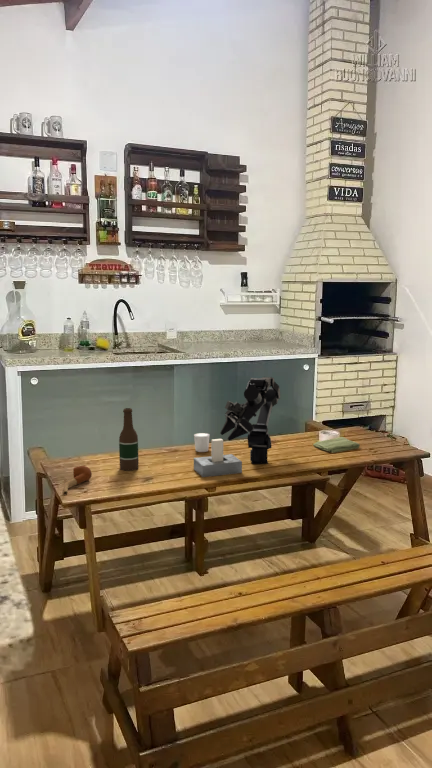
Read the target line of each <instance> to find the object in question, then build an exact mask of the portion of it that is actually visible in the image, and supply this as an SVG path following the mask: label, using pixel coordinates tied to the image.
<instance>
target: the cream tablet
mask: <svg viewBox="0 0 432 768" xmlns="http://www.w3.org/2000/svg"><path fill="white" fill-rule="evenodd" d="M210 444H211V445H210V446H211V447H210V448H211V452H210V453H211V456H212V462H218V461H223V455H224V439H222V438H215V439H213V438H212V439H211V443H210Z"/></svg>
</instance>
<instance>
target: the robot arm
mask: <svg viewBox="0 0 432 768" xmlns="http://www.w3.org/2000/svg"><path fill="white" fill-rule="evenodd" d="M277 383H278V382H276V381H275V378H274V377H272V376H263V377H251V378H250V379H249V380H248V382H247V384H246V387H245V390H244V392H243V397H244V399H245V400H246V401H245V403H239V402H237V401H235V402H232V401H231V400H227V401H226V404H225V407H224V408H225V409H226V410H227V411H225V412H224V414H225V415H224V416H225V423H224V424H223V427H222V428H221V431H220V433H219V434H221V435H222V436H223V435H226V434H227V433H228V432H230V431H231V433H230V434H229V435H228V437H227V440H228V441H232V440H234V439H236V438H238V437H242V436H245V435H246V434H247V446H248V447H247V448H248V449H250V450H249V453H250V454H249V457H250V458H249V460H250V462H251V464H253V465H263V464H264V465H265V464H266V465H268V464H269V461H268V450H269V449H272V440H271V436H270V434H269V429H268V425H269V422H270V418H271V413H272V410H273V407H275V406H276V405H278V401H279V400H280V399H281V389H280V385H279V384H277ZM258 411H259V414H258V417H257V413H258ZM253 417H254V418H255V417H257V420H256V423H253V424H252V423H251V422H250V420H252V418H253Z"/></svg>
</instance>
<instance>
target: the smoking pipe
mask: <svg viewBox="0 0 432 768" xmlns="http://www.w3.org/2000/svg"><path fill="white" fill-rule="evenodd" d="M92 474H93V473H92V470H91V469H90V468H89V467H88V466H86V465H79V466H75V467H73V478H71V479H70V480H68V481H66V482H65V483H64V485H63V492H62V493H63V495H68V494H69V491H68V489H69V488H71V487H73V486H77V485H79V484H81V483H84V482H88V481H89V480H90V479H91V478H92V476H93V475H92ZM65 493H67V494H65Z"/></svg>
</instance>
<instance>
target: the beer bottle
mask: <svg viewBox="0 0 432 768" xmlns="http://www.w3.org/2000/svg"><path fill="white" fill-rule="evenodd" d="M122 413H123V426H122V430H121V432H120V434H119V439H118V446H119V447H118V448H119V452H118V453H119V454H118V455H119V468H120V470H121V471H124V472H125V471H135V470H138V469H139V464H140V463H139V460H140V459H139V438H138V433H137V431H136V430H135V428H134V424H133V408H131V407H129V408H128V407H125V408H123V411H122Z"/></svg>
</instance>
